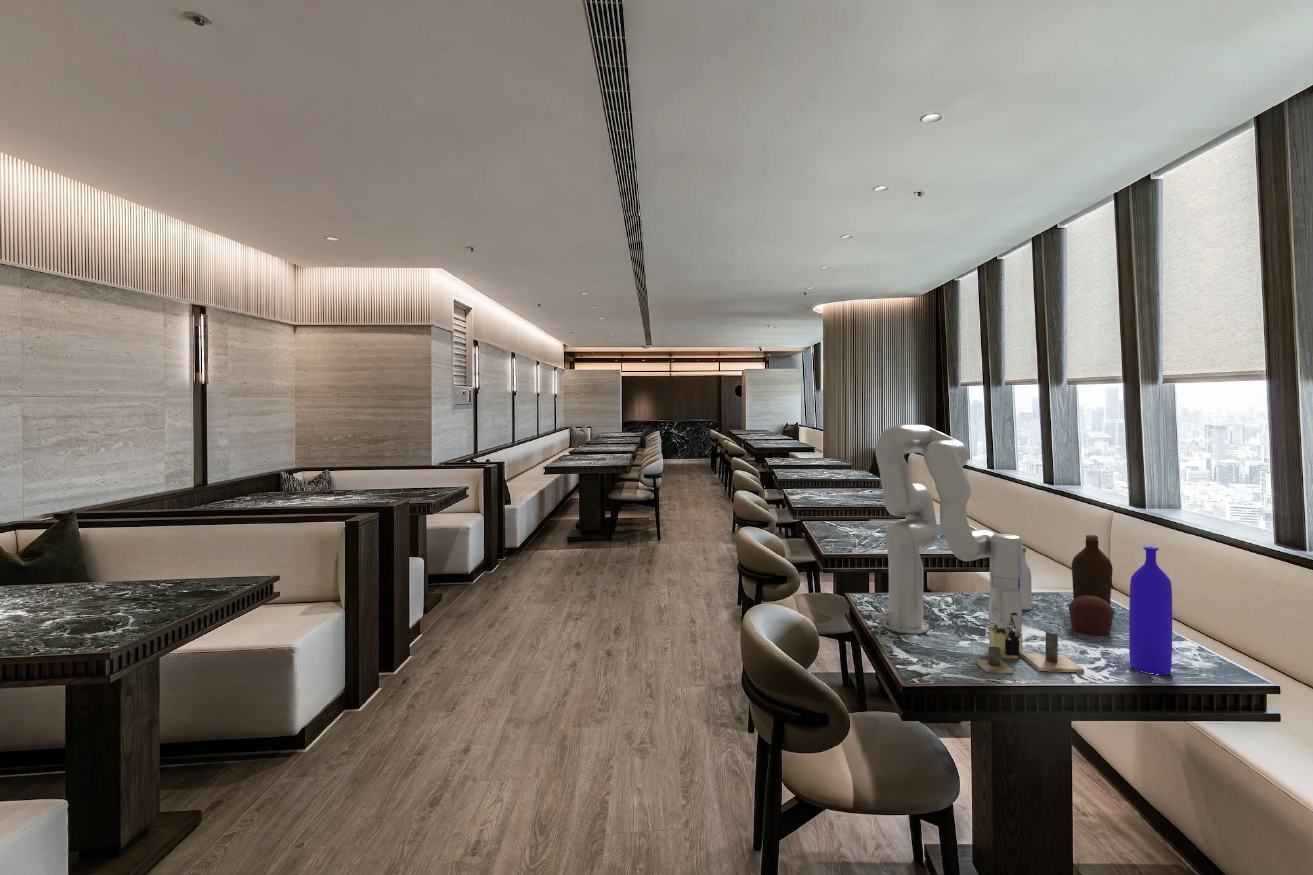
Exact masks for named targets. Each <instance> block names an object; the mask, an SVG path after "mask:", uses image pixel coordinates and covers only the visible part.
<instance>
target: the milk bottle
mask: <svg viewBox="0 0 1313 875" xmlns="http://www.w3.org/2000/svg"><path fill="white" fill-rule="evenodd" d="M1026 555H1027V547H1026V546H1023V576H1022V577H1023V581H1022V588H1023V589H1022V590H1021V591H1020V594H1021V605H1022V611H1028V610H1031V609H1032V601H1033V600H1032V597H1033V596H1032V590H1033V589H1032V570H1031V567H1030V565H1029V563H1028V561H1027V558H1026Z"/></svg>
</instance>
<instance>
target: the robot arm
mask: <svg viewBox="0 0 1313 875" xmlns="http://www.w3.org/2000/svg"><path fill="white" fill-rule="evenodd" d="M874 450H875V458H876V463H877V466H878V470H879V471H878V472H879V476H880V483H881V488H882V490H881V491H882V495H883V502H884V506H885V509H886V511H887V512H888V513H889V514H890V515H891V516H894V517H904V518H905V519H904V520H900V521H896V522H894V523H892V524H891V525H890V526H889V527H888V528H887V531H886V532H885V544H886V545H885V546H886V550H887V557H888V558H887V559H888V560H887V561H888V562H887V563H888V608H886V609H885V611H883V612H871V617H872V620H878V621H881V622H883V625H882V626H883V627H884V628H885V629H887V630H889V631H892V632H896V633H901V634H909V635H911V634H915V635H917V634H924V633H926V632H928V631H929V630H930V626H929V624H928V623H927V622H925V621H924V564H923V561H922V557H921V554H920V551H924V550H925V551H926V550H929V549H931V548H932V547H934V545H936V543H937V541H938V539H939V538H938V537H939V529H938V524H937V518H936V513H935V506H934V501H933V498H932V494H931V493H930V491H929V489H928V488H927V487H925V486H924V485H923V484H921V483H919V482H918V483H917V482H912V476H911V470H910V466H909V464H908V462H907V460H906V459H905V457H904V455H906V454H915V453H916V454H918V453H919V454H920V455H922V456H923V460H924V463H925V466H926V467H927V471H928V472H929V475H930V477H931V480H932V482H933V485H934V487H935V489H936V492H937V495H938V498H939V502H940V503H939V522H940V526H941V530H942V534H943V536H944V538H945V541H946V543H947V545H948V547H949V549H950V551H951V552H952V555H954V556H955V557H956V558H957V559H958V560H961V561H962V562H970V561H971V562H972V561H976V560H979V559H984V558H989V587H990V588H989V593H988V594H989V595H988V610H987V611H988V612H987V613H988V614H987V617H988V619H989V620H990V621H991V622H992V627H991V628H993V627H1000V628H1001V629H1004V628H1005V631H1006V637H1007V639H1005V654H1006V655H1009V656H1019V641H1020V636H1021V635H1020V634H1021V633H1023V628H1022V626H1023V610H1022V605H1021V594H1020V591H1021V590H1022V589H1023V588H1022V581H1023V577H1022V576H1023V539H1022V538H1021V536H1018V535H1016V534H1009V533H997V532H993V531H991V530H986V529H974V530H973V529H971V527H970V524H969V521H968V518H967V513H966V509H967V504H968V502H969V499H970V497H971V495H972V492H973V491H972V487H971V485H970V484H971V483H970V481H969V480H968V477H967V474H966V473H965V470H964V468H963V467H964V466H965V465H966V464H967V463H968V461H969V451H968V449H967V447H966V446H965V444H964V443H963V442H961V441H959V439H955V438H954V437H952V436H949V435H948V434H945V433H943V432H941V431H938V430H936V429H934V428H932V427H930V426H928V425H926V424H925V425H924V424H905V423H904V424H896V425H893V426H890V427H888V428H886V429H885V430H884V431H883V432H882V433H881V434H880V435H879V436H878V438H877V440H876V444H875V449H874ZM1010 626H1012V627H1010ZM1009 630H1013V631H1014V632H1011V634H1010V631H1009Z"/></svg>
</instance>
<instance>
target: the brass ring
mask: <svg viewBox="0 0 1313 875" xmlns="http://www.w3.org/2000/svg"><path fill="white" fill-rule="evenodd" d="M1009 631H1010V634H1011V632H1014V631H1013V630H1009ZM1020 635H1021V636H1020V641H1019V656H1009V655H1006V654H1005V639H1007V637H1006V631H1005V628H1004V629H1001V628H1000V627H991V628H989V638H988V640H989V645H988V647H998V648H1000V658H1001V659H1002V658H1003V659H1006V660H1007V659H1009V660H1011V659H1012V660H1018V659H1020V658H1022V657H1021V653H1023V637H1024V636H1023V632H1021V634H1020Z"/></svg>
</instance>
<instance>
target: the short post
mask: <svg viewBox="0 0 1313 875" xmlns="http://www.w3.org/2000/svg"><path fill="white" fill-rule="evenodd" d="M987 650H988V659H976V664H977V665H978V666H979V667H980V668H981V669H982V670H983V671H984V672H985V673H986V672H987V674H1006V673H1013V670H1014V669H1013V668H1011V667H1010V666H1009V665H1008V664H1007V663H1006V662H1005V661H1003V660H1001V657H1000V648H998V647H989V646H988V649H987ZM988 672H989V673H988Z"/></svg>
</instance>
